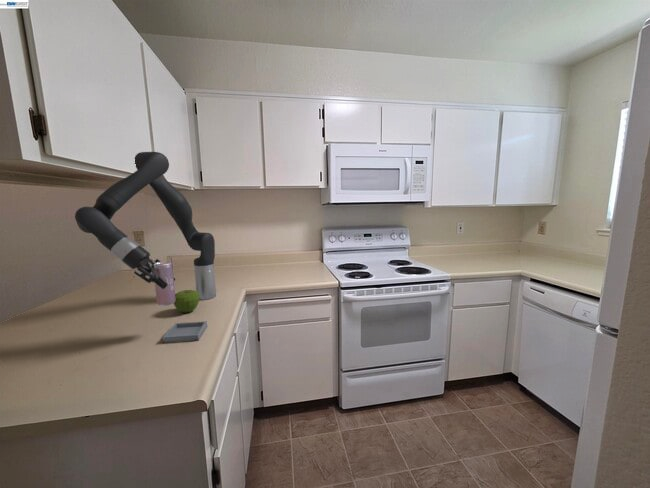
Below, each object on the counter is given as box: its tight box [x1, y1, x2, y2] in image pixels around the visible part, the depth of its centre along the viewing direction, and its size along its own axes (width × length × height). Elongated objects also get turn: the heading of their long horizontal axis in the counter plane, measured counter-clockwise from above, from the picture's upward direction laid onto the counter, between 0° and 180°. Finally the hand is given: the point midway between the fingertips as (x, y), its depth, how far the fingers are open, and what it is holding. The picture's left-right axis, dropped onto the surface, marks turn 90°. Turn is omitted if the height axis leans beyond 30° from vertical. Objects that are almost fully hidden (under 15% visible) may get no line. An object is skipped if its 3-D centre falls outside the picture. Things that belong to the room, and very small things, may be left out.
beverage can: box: [153, 261, 176, 307], centre depth 101 cm, size 6×6×15 cm
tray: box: [161, 320, 208, 344], centre depth 103 cm, size 12×12×2 cm
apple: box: [173, 289, 200, 313], centre depth 124 cm, size 11×10×10 cm
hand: (169, 284), depth 101 cm, fingers closed on beverage can, 6 cm apart
